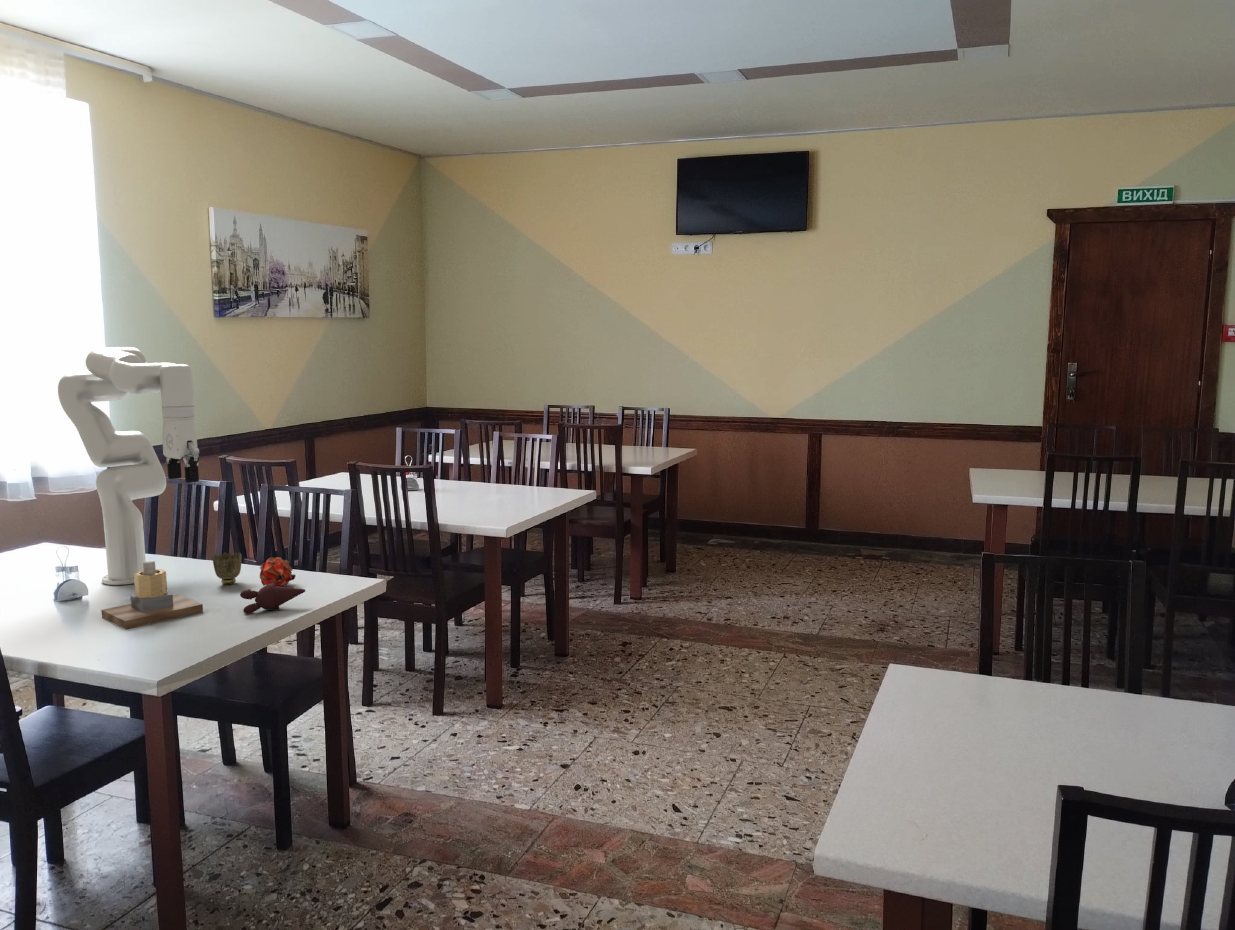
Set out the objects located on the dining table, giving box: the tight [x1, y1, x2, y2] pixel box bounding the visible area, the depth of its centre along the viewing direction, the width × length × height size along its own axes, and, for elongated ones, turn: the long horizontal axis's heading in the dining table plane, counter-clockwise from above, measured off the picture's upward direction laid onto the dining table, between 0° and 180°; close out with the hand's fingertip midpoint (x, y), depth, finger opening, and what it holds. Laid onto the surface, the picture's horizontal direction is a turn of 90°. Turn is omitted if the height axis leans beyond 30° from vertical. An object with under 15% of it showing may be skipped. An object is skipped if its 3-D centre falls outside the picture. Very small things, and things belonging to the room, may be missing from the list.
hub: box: [133, 568, 169, 599], centre depth 228 cm, size 6×6×6 cm
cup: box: [211, 552, 243, 586], centre depth 257 cm, size 8×7×8 cm
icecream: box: [239, 583, 306, 614], centre depth 233 cm, size 7×7×15 cm
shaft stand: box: [100, 560, 204, 630], centre depth 228 cm, size 14×18×13 cm
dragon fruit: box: [259, 557, 296, 587], centre depth 254 cm, size 8×8×12 cm
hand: (183, 480), depth 242 cm, fingers open, 9 cm apart
